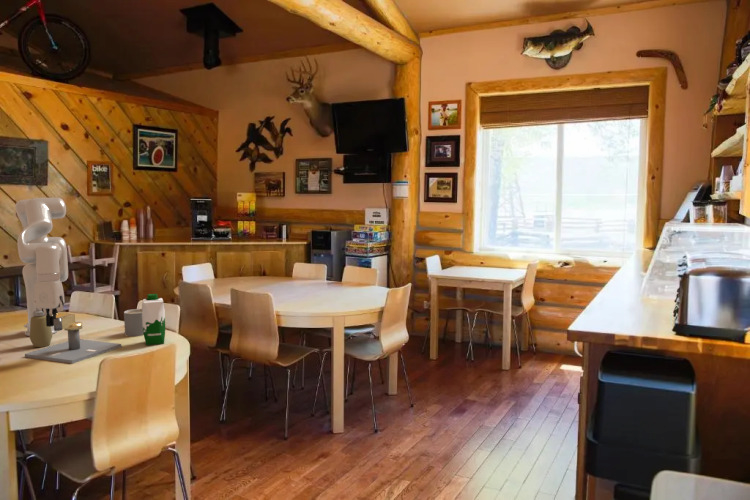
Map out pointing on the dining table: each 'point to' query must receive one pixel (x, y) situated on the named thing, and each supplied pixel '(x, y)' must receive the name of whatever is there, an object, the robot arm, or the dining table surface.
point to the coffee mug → (133, 322)
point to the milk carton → (153, 319)
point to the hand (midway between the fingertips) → (51, 325)
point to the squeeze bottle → (39, 330)
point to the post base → (72, 353)
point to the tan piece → (66, 323)
